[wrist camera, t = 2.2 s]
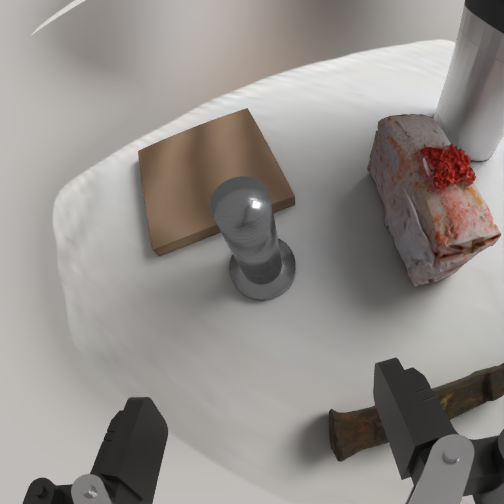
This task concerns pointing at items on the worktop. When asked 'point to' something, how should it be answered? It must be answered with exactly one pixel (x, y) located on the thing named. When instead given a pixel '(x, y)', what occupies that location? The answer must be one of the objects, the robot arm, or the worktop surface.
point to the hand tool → (449, 395)
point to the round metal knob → (252, 238)
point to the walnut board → (204, 177)
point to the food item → (429, 197)
